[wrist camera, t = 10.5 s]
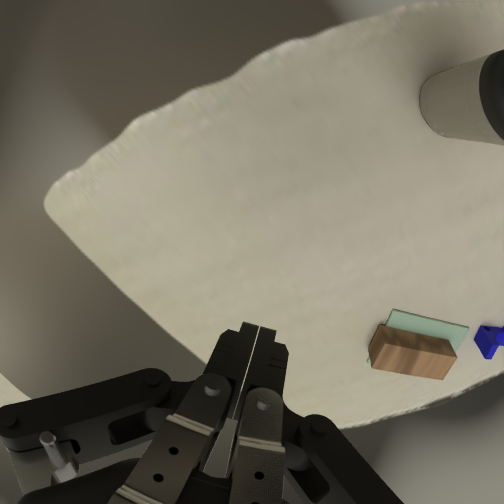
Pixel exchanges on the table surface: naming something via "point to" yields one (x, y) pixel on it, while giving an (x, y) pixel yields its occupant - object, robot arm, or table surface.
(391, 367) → the walnut block
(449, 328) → the sage mat
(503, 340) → the blue cradle block
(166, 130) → the table surface
